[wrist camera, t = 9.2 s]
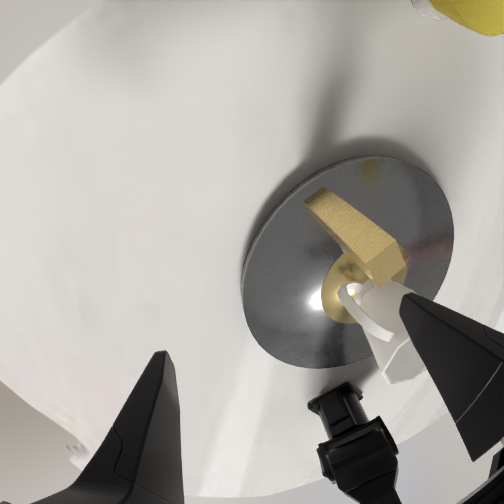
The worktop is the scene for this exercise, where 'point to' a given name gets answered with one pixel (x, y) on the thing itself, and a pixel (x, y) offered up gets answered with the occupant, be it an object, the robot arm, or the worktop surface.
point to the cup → (384, 327)
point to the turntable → (342, 256)
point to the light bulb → (466, 13)
